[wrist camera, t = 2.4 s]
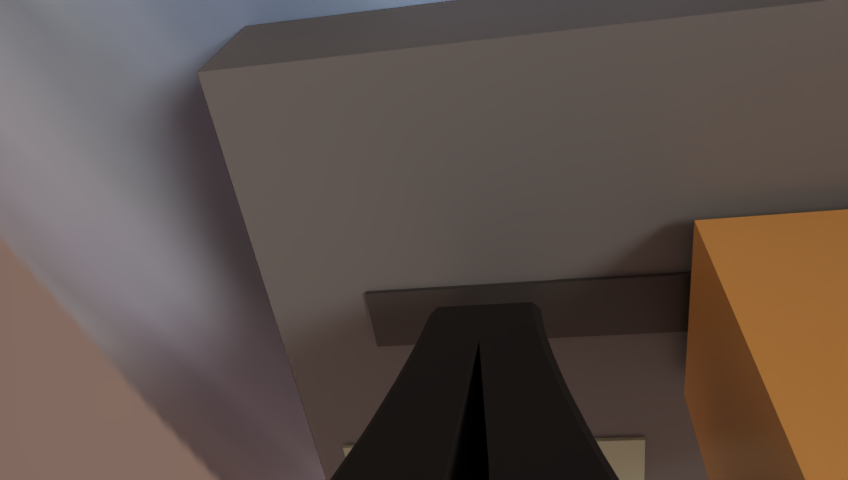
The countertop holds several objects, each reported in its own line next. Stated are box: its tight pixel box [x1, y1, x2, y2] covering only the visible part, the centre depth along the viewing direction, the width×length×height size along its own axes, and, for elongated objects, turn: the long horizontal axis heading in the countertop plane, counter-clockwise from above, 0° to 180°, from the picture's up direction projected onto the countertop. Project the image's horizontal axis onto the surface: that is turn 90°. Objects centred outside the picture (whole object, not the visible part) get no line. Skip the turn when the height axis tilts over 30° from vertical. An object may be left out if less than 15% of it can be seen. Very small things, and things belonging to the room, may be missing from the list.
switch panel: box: [197, 0, 848, 480], centre depth 11 cm, size 16×8×2 cm, turn 98°
